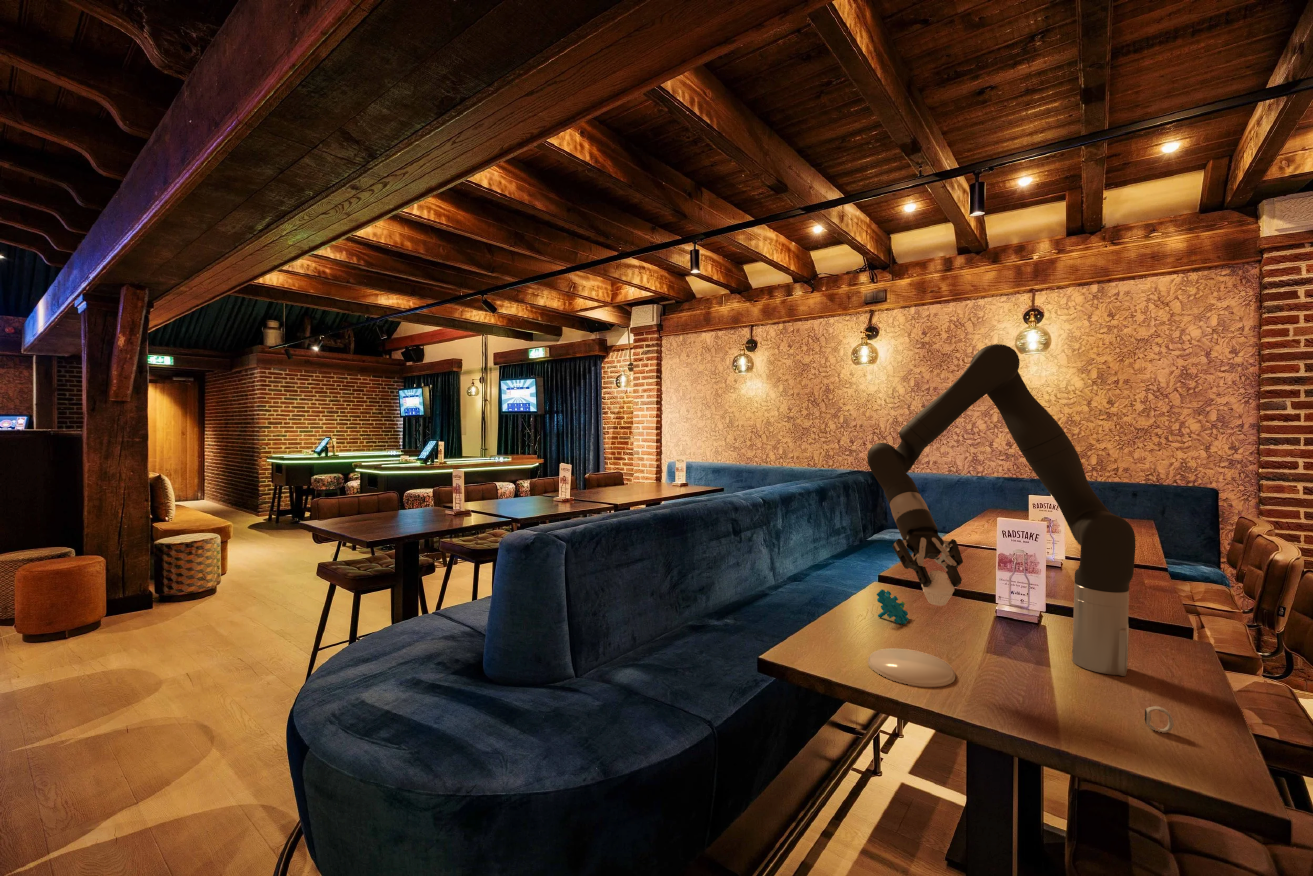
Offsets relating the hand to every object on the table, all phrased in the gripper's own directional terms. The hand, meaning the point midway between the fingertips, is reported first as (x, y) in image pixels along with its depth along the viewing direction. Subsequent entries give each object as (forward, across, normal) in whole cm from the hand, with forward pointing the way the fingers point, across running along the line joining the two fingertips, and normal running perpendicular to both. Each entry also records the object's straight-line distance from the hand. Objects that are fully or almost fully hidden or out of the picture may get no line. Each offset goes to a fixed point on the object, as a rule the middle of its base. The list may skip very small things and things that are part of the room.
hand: (942, 585), depth 116 cm
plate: (+11, -4, +16) cm, 20 cm away
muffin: (+2, 0, +4) cm, 5 cm away
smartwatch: (+30, +24, -4) cm, 38 cm away
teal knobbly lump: (-9, +9, +36) cm, 39 cm away
